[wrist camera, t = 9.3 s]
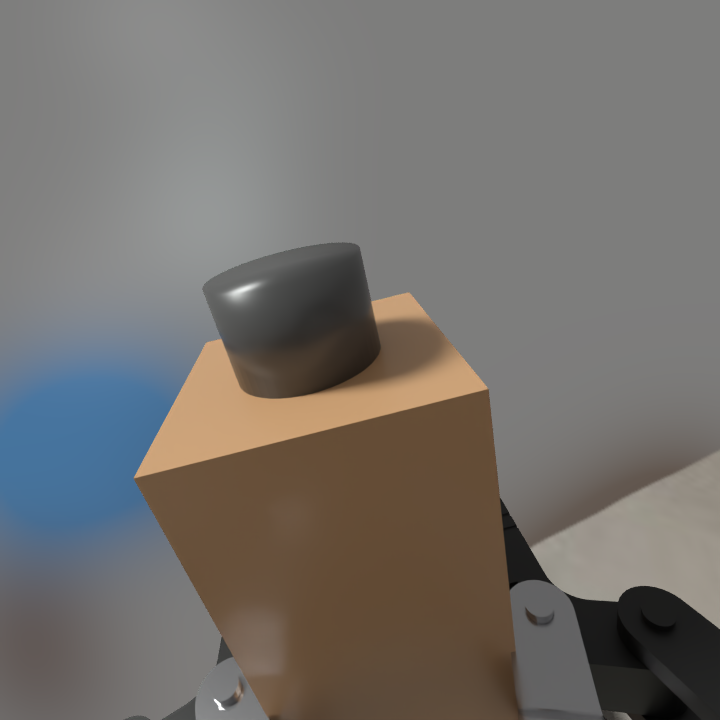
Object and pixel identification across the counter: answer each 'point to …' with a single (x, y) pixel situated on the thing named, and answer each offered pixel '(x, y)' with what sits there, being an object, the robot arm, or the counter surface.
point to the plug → (339, 498)
